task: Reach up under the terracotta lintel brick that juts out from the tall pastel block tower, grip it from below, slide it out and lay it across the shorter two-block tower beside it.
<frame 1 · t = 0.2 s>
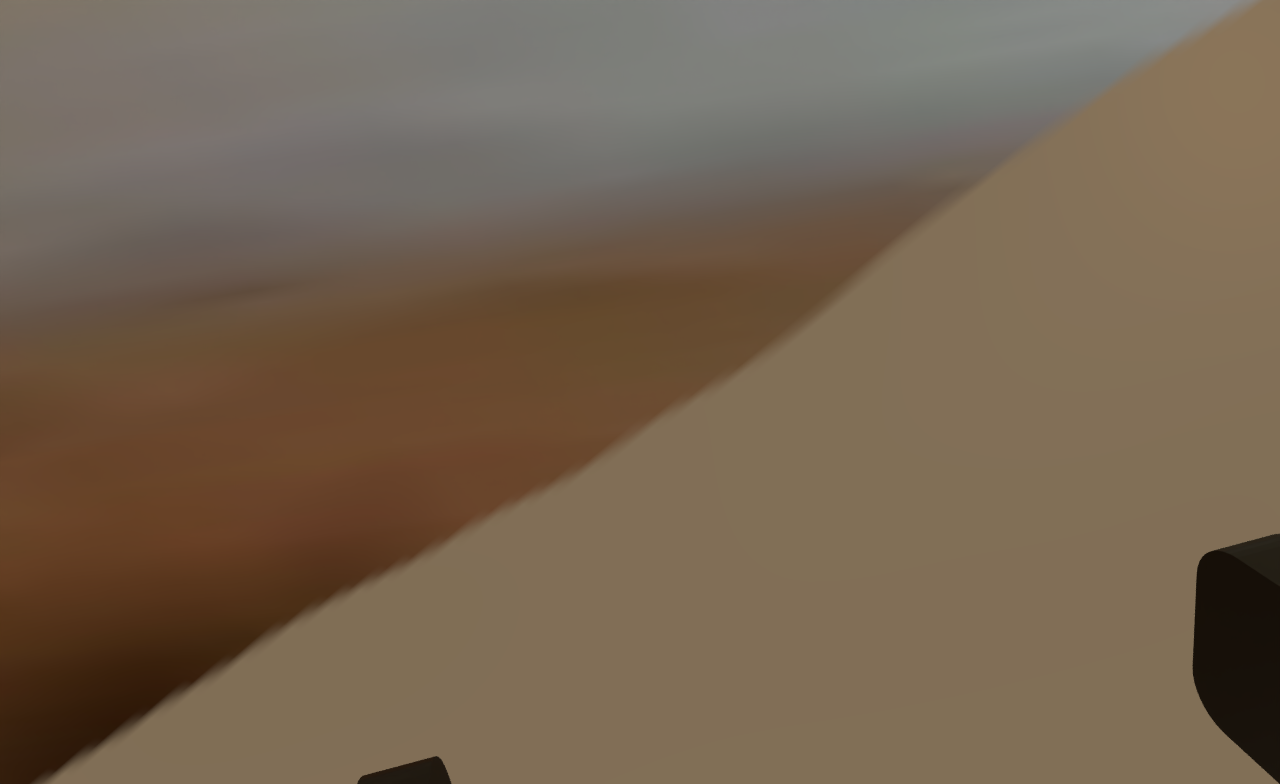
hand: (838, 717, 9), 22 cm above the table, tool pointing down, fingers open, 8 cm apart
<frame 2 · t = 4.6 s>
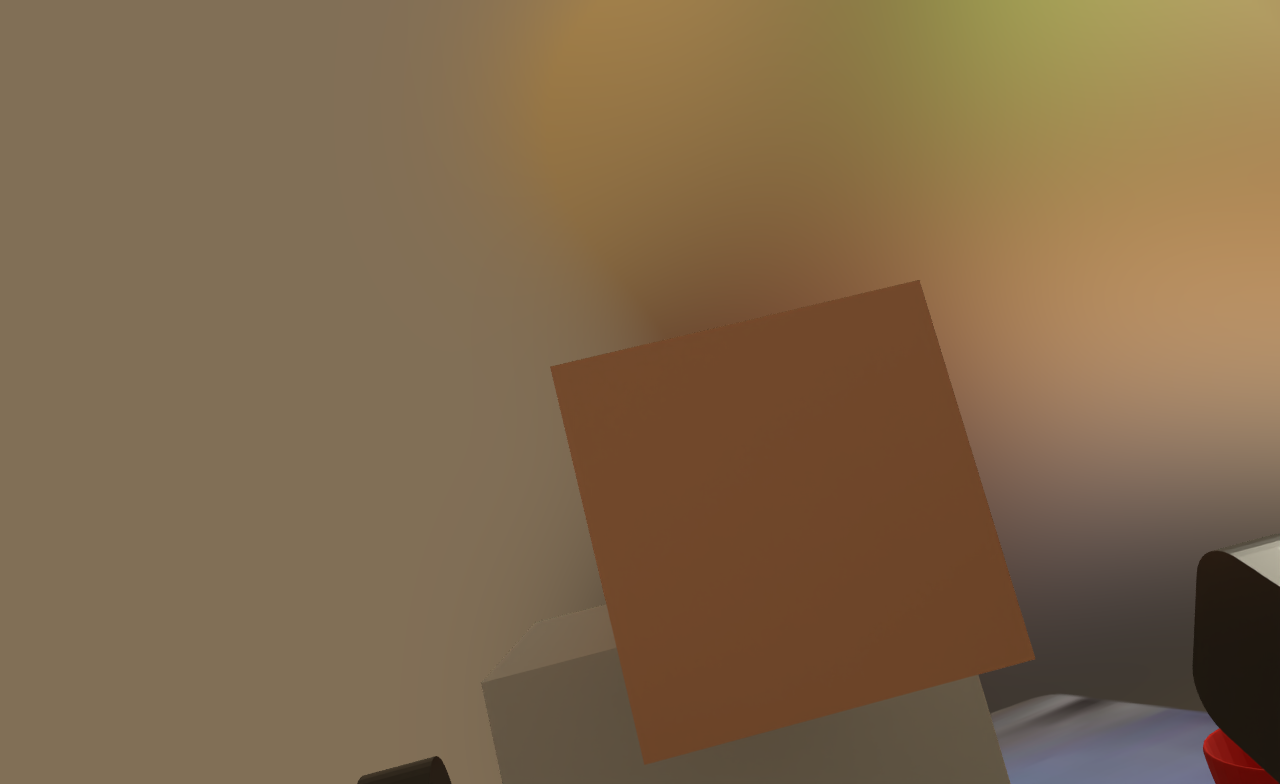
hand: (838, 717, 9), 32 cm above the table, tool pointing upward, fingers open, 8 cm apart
lintel brick: (702, 610, 22), point 32 cm above the table, touching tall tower
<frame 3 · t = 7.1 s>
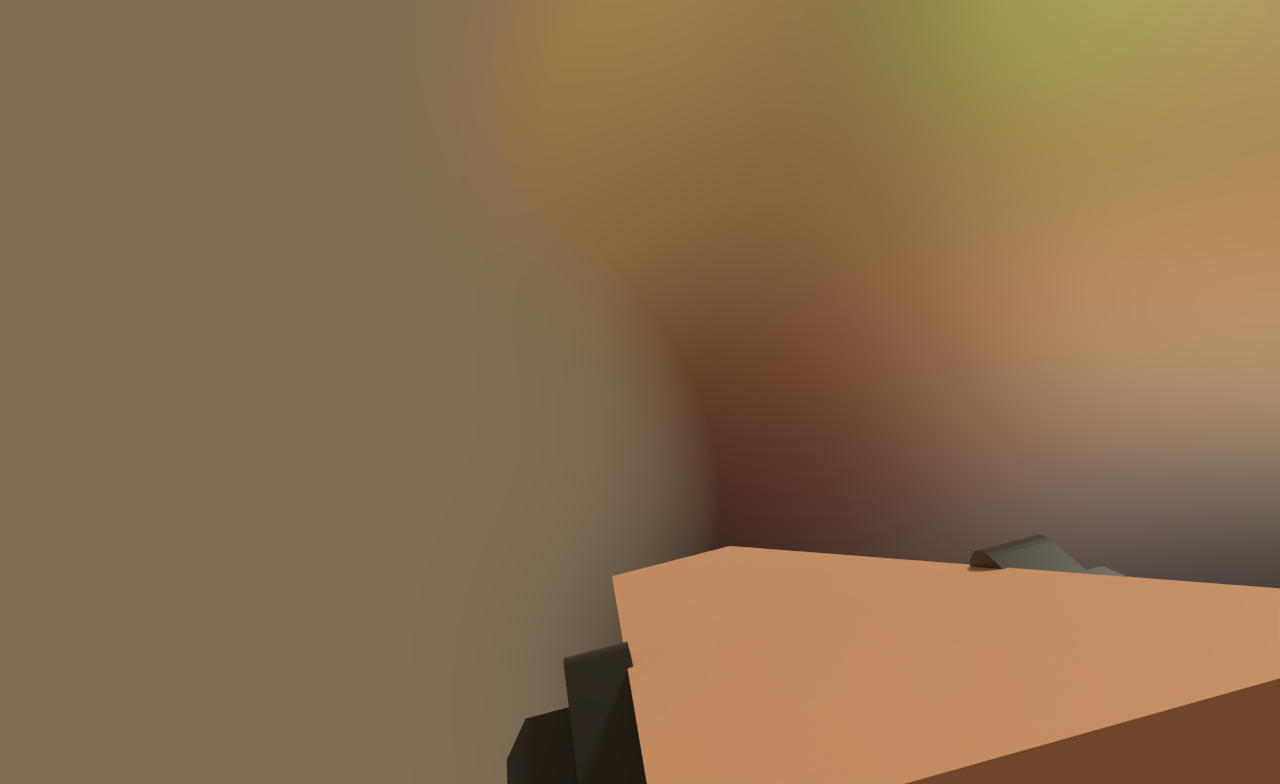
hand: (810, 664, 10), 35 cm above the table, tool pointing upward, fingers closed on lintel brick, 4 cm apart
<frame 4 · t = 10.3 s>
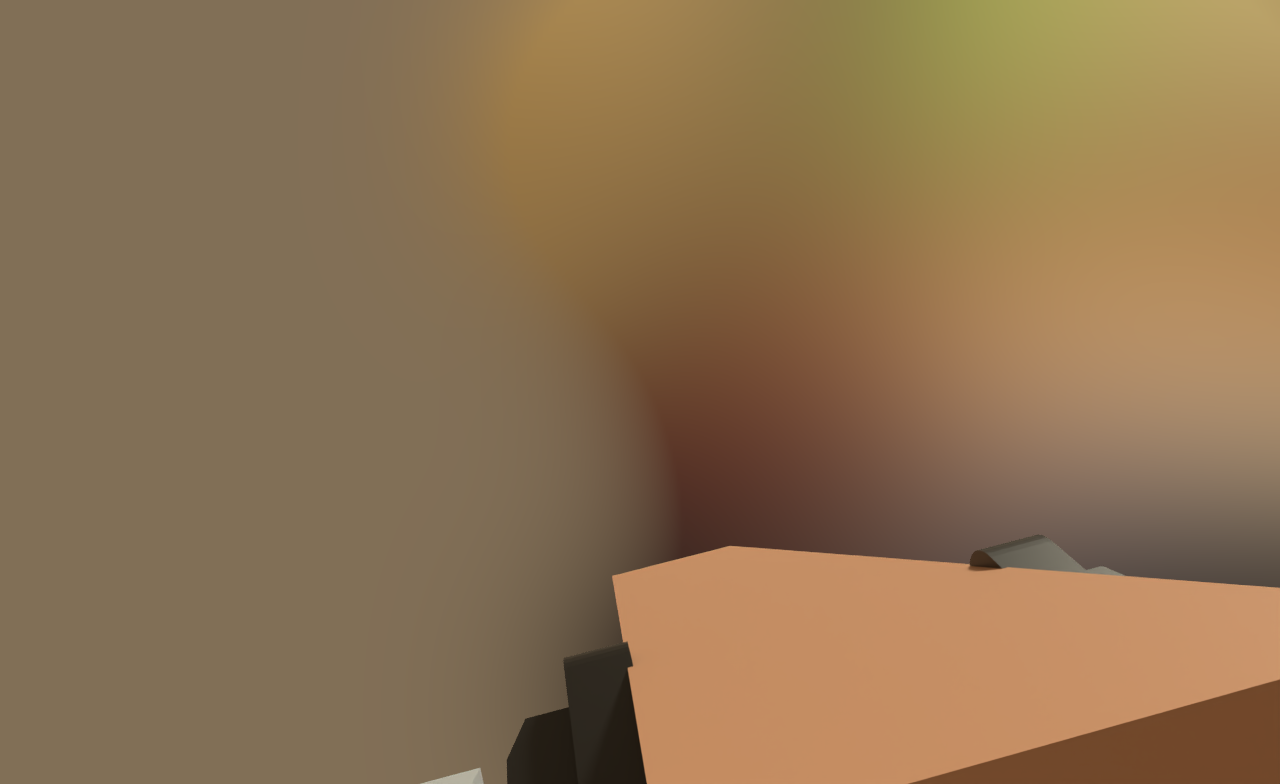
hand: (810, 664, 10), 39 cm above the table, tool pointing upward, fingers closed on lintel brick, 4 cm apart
when the fingers open (25 cm above the table, at t = 13.5 s): lintel brick stays where it is, resting on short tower.
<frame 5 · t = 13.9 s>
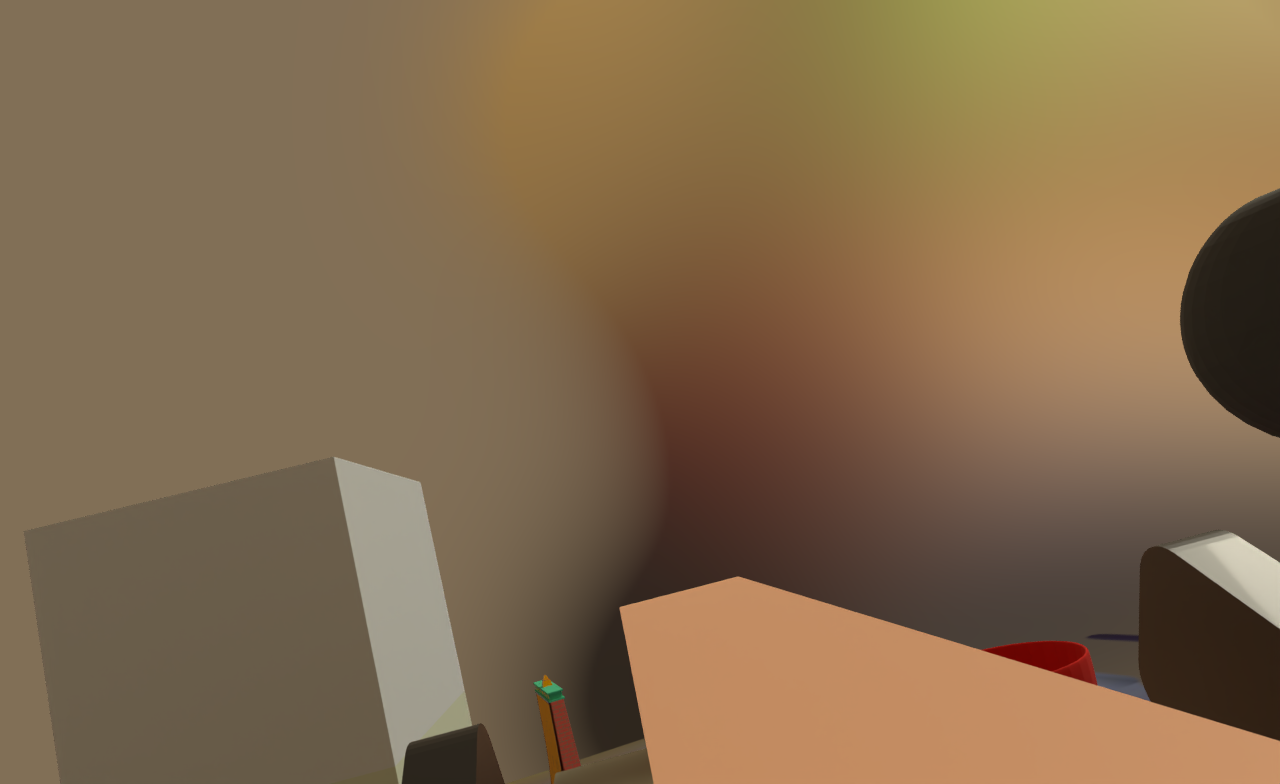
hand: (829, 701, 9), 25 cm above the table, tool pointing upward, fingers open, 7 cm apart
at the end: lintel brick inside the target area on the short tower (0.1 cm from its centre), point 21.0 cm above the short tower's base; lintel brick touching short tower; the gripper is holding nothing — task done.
